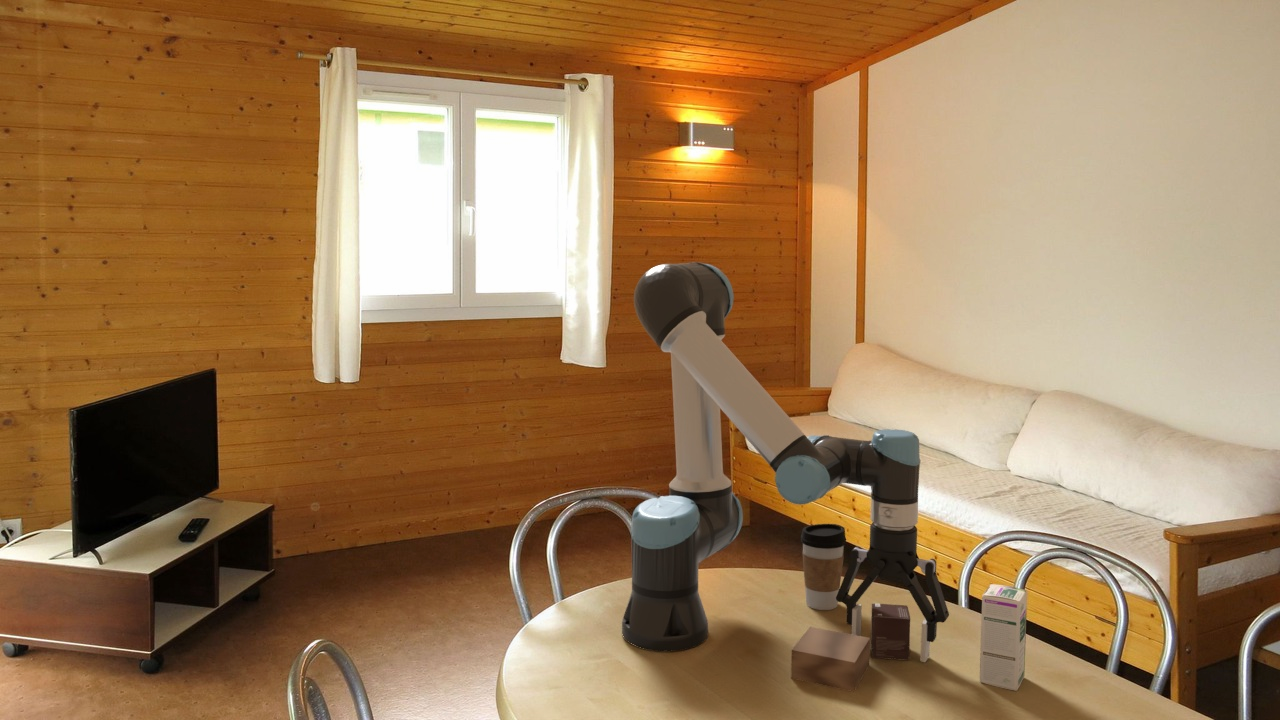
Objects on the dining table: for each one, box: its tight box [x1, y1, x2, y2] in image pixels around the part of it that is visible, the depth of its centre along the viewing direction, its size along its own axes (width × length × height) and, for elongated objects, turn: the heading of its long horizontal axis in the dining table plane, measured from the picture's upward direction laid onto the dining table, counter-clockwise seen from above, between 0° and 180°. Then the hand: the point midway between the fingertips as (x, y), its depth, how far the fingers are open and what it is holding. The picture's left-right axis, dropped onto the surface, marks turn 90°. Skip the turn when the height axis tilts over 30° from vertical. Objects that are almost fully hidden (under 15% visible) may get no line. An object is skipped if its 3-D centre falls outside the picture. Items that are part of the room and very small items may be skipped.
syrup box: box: [979, 583, 1028, 692], centre depth 145 cm, size 6×6×14 cm
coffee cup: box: [800, 523, 847, 611], centre depth 176 cm, size 8×8×15 cm
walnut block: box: [790, 626, 871, 693], centre depth 149 cm, size 10×10×5 cm
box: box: [870, 603, 911, 661], centre depth 156 cm, size 6×6×7 cm
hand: (889, 650), depth 156 cm, fingers open, 11 cm apart
